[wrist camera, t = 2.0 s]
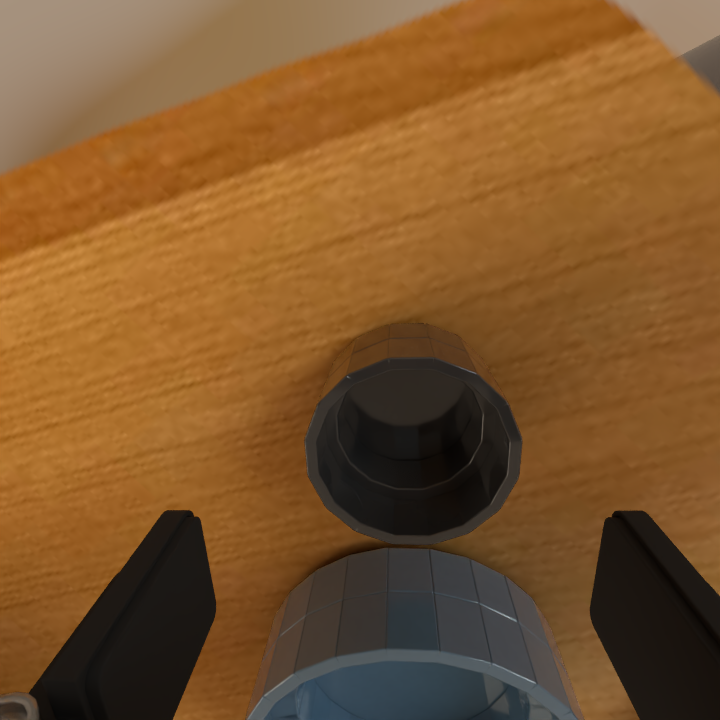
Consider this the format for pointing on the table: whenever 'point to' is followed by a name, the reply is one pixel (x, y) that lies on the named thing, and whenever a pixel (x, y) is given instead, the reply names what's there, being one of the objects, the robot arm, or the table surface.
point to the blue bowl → (411, 645)
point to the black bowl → (412, 437)
